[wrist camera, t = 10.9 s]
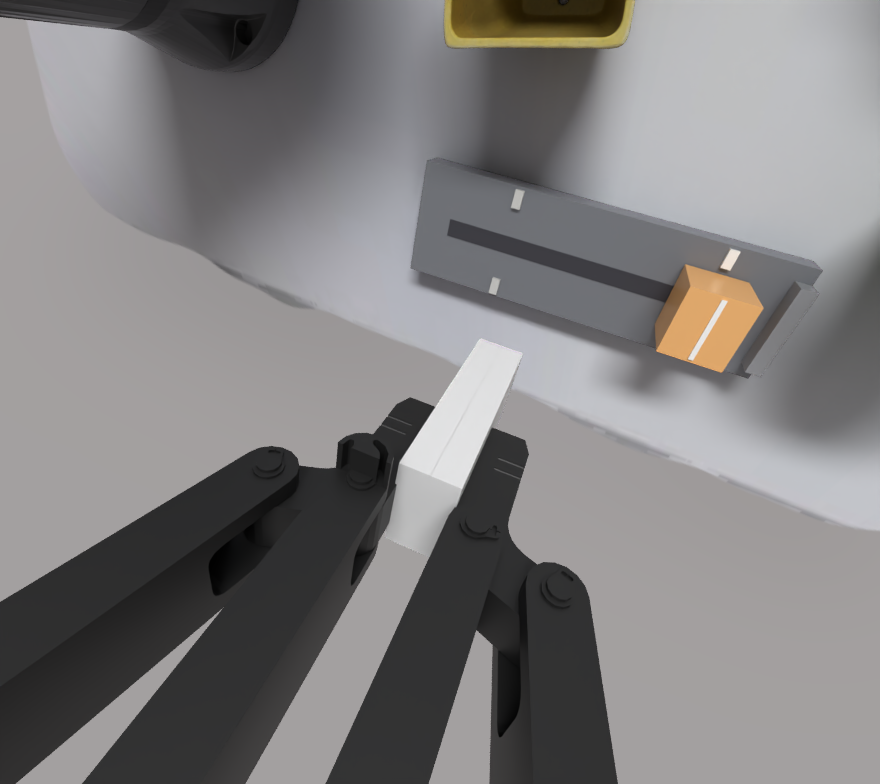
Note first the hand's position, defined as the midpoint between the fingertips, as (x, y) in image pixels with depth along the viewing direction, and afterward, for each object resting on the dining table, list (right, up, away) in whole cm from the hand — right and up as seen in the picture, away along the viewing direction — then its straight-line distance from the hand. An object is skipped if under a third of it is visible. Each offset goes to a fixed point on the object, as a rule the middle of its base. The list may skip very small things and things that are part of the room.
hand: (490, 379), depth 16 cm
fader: (+16, +5, +15) cm, 22 cm away
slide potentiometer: (+9, +9, +18) cm, 23 cm away
